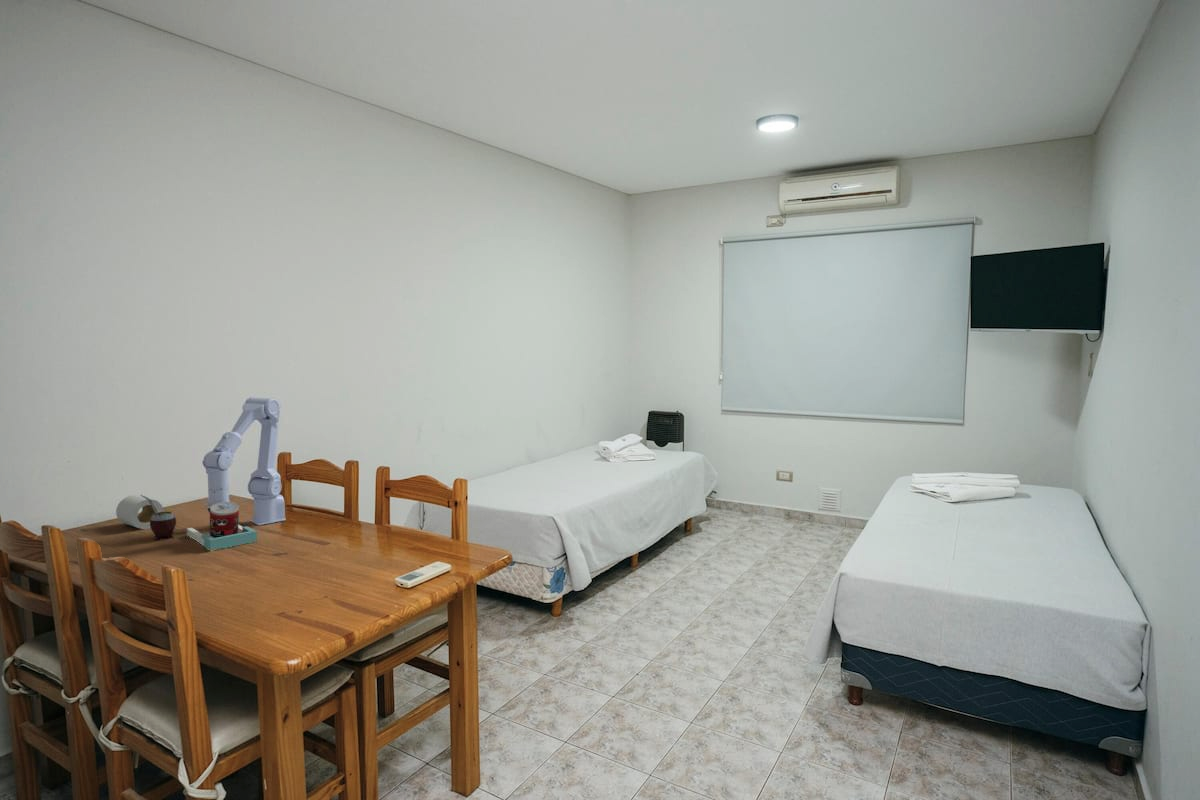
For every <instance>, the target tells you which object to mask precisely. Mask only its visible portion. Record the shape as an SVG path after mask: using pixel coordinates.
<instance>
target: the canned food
mask: <svg viewBox="0 0 1200 800" xmlns="http://www.w3.org/2000/svg"><path fill="white" fill-rule="evenodd" d="M221 504H226V505H229V504H230V505H231V508H227V509H224V508H222V507H220V506H219V505H221ZM223 506H224V505H223ZM209 508H210V513H209V535H210V536H211V537H213V538H218V537H223V536H228V535H233V534H238V524H239V523H240V522H239V518H240V517H239V516H240V514H239V513H240V508H239V505H238V503H236V502H234V501H233V502H232V501H230V502H220V503H216V504H214V505H212V506H209Z"/></svg>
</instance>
